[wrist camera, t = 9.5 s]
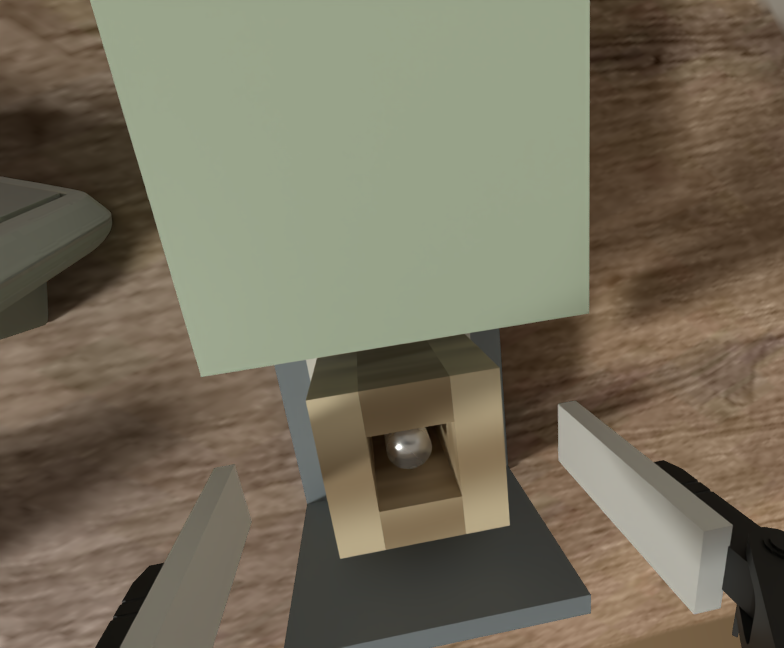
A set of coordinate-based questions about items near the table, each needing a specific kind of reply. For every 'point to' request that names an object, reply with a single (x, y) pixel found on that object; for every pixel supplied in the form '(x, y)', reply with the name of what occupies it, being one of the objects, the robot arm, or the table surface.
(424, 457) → the steel pin
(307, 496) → the housing base
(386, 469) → the birch collar
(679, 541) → the robot arm
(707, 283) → the table surface
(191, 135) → the sage cover
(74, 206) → the digital clock
